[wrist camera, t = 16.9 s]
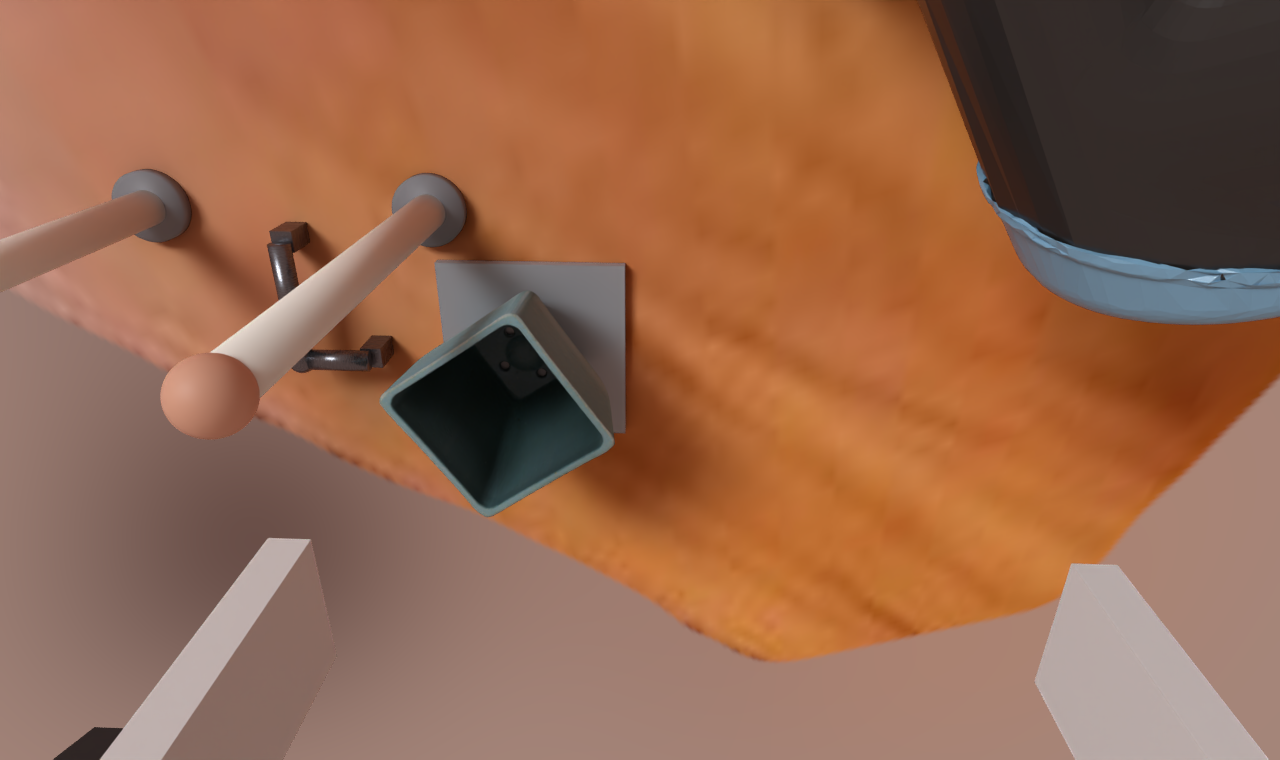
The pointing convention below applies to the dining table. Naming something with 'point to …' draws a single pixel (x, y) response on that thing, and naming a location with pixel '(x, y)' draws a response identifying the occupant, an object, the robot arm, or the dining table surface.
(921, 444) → the dining table surface
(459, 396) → the flower pot
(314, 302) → the post
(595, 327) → the tile
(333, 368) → the bent rail
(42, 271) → the post
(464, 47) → the dining table surface
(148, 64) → the dining table surface
